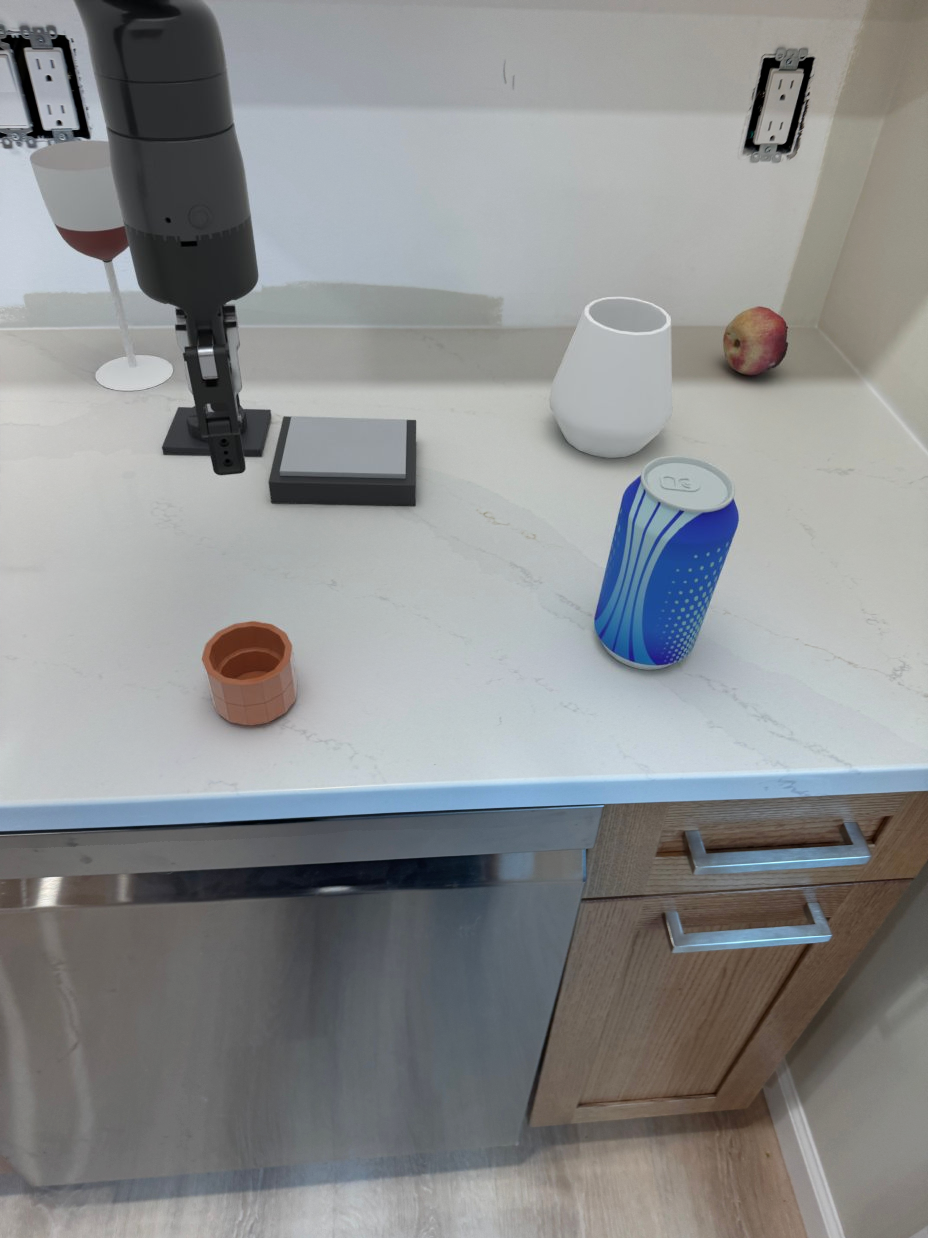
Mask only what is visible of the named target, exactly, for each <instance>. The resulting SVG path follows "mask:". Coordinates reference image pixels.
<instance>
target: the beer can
mask: <svg viewBox="0 0 928 1238" xmlns="http://www.w3.org/2000/svg"><path fill="white" fill-rule="evenodd" d="M735 486H736V485H735V484H734V482H733V480H732V478H731V477H730V475H728V474H727V473H726V471H724V470H723V469H721V468H720V467H718V466H716V465H715V464H713V463H711V462H709V461H706V460H703V459H699V458H697V457H693V456H686V455H667V456H661V457H657V458H655V459H653V460H651V461H649V462H648V463H646V464H645V466H644V467H643V468H642V470H641V473H640V475H639V476H638V477H637V478H636V479H634V480H633V481H632V482H631V483H630V484H629V485H628V486H627V488H625V490H624V492H623V494H622V497H621V502H620V506H619V510H618V515H617V519H616V523H615V527H614V532H613V536H612V541H611V544H610V549H609V554H608V557H607V561H606V566H605V571H604V575H603V579H602V583H601V588H600V593H599V595H598V601H597V605H596V609H595V613H594V619H593V626H594V627H593V628H594V631H595V634H596V636H597V637H598V639H599V641H600V643H602V646H603V647H604V649H605V650H606V652H607V653H608V654H609V655H610V656H611V657H613V658H614V659H615V660H617V661H618V662H620V663H622V664H623V665H626V666H628V667H632V668H634V669H639V670H647V671H648V670H649V671H653V670H654V671H655V670H660V669H661V670H662V669H665V668H667V667H669V666H672V665H673V664H676V663H679V662H680V661H682V660H684V659H685V658H687V657H688V656H689V655H690V654H691V652H692V651H693V649H694V648H695V644H696V642H697V639H698V637H699V634H700V631H701V628H702V626H703V623H704V621H705V618H706V615H707V611H708V609H709V606H710V603H711V601H712V598H713V595H714V592H715V590H716V588H717V584H718V581H719V578H720V577H721V574H722V571H723V568H724V565H725V562H726V560H727V557H728V554H729V551H730V549H731V546H732V543H733V540H734V537H735V534H736V532H737V529H738V526H739V522H740V516H739V515H740V514H739V509H738V506H737V504H736V501H735V494H736V488H735Z"/></svg>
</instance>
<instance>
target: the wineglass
mask: <svg viewBox="0 0 928 1238" xmlns="http://www.w3.org/2000/svg"><path fill="white" fill-rule="evenodd" d="M29 161H30V164H31V168H32V171H33V174H34V177H35V180H36V183H37V186H38V188H39V189H38V190H39V192H40V194H41V197H42V200H43V202H44V206H45V207H46V210H47V212H48V215H49V217H50V218H51V221H52V223H53V224H54V226H55V228H56V230H57V231H58V233H59V235H60V236H61V238H62V239H63V241H64V242H65V243H66V244H67V245H68V246H69V247H70V248H72V249H73V250H75V251H77V252H78V253H80V254H82V255H84V256H87V257H90V258H93V259H96V260H100V261H102V263H103V265H104V270H105V273H106V278H107V283H108V286H109V291H110V294H111V295H110V296H111V298H112V302H113V307H114V310H115V315H116V318H117V319H116V320H117V322H118V327H119V330H120V334H121V338H122V339H121V340H122V343H123V347H124V350H125V351H124V352H125V355H126V356H122V357H118V358H115V359H111V360H109V361H107V362H105V363H104V364H103V365H101V366H100V367H99V368H98V369H97V370H96V372H95V380H96V381H97V383H98V384H99V385H101V386H102V387H105V388H106V389H109V390H110V389H111V390H115V391H120V392H121V391H122V392H123V391H124V392H133V391H143V390H146V389H147V390H148V389H151V388H154V387H156V386H159V385H161V384H163V383H165V382H166V381H168V380H169V379H170V378H171V377H172V375H173V373H174V366H173V365H172V364H171V363H170V362H169V361H168V360H166V359H164V358H162V357H159V356H154V355H145V354H136V355H135V351H134V347H133V343H132V339H131V335H130V330H129V326H128V321H127V318H126V313H125V309H124V305H123V302H122V297H121V293H120V289H119V284H118V279H117V275H116V272H115V268H114V263H113V261H114V259H115V258H116V257H118V256H119V255H120V254H122V253H123V252H125V251H126V250H127V249H128V248H129V244H128V239H127V235H126V231H125V227H124V222H123V218H122V214H121V209H120V205H119V201H118V197H117V192H116V188H115V184H114V180H113V175H112V169H111V162H110V151H109V142H108V141H107V140H90V139H89V140H87V139H86V140H71V141H65V142H60V143H59V142H58V143H54V144H50V145H46V146H44V147H41V148H39V149H37V150H35V151H33V152H32V153H31V154H30V156H29Z"/></svg>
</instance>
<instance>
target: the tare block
mask: <svg viewBox="0 0 928 1238" xmlns="http://www.w3.org/2000/svg"><path fill="white" fill-rule="evenodd" d="M238 414H239V415H241V420H242V422H241V427H242V429H240V434H241V440H242V446H243V452H244V457H262V456H263V452H264V448H265V445H266V444H265V443H266V440H267V436H268V433H269V428H270V423H271V419H272V410H271V409H264V408H262V409H261V408H244V407H242V405H241V404H240V408H239V409H238ZM197 424H199V422H198V417H197V412H196V407H195V405H193V406H191V407H189V406H188V407H187V406H178V407H177V410H176V412H175V413H174V416H173V419H172V420H171V423H170V426H169V428H168V431H167V434H166V436H165V438H164V441H163V443H162V446H161V451H162V454H163V455H178V456H179V455H182V456H183V455H185V456H210V451H209V446H208V441H207V437H202V436H201V432H198V426H197Z"/></svg>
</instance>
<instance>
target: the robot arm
mask: <svg viewBox="0 0 928 1238" xmlns="http://www.w3.org/2000/svg"><path fill="white" fill-rule="evenodd" d="M73 3H74V5H75V7H76V9H77V12H78V15H79V17H80V20H81V23H82V25H83V29H84V32H85V36H86V40H87V47H88V53H89V57H90V62H91V67H92V72H93V76H94V80H95V84H96V88H97V94H98V97H99V98H98V99H99V103H100V106H101V111H102V115H103V119H104V123H105V130H106V135H107V140H108V142H109V151H110V162H111V169H112V175H113V180H114V184H115V188H116V192H117V197H118V201H119V205H120V209H121V214H122V218H123V222H124V227H125V231H126V235H127V239H128V244H129V247H128V248H129V252H130V256H131V260H132V265H133V269H134V273H135V277H136V281H137V285H138V287H139V289H140V290H141V292H142V293H143V294H144V295H145V296H146V297H148V298H149V299H151V300H153V301H155V302H158V303H159V304H164V305H169V306H173V307H174V308H175V311H174V312H175V318H176V323H174V329H175V338H176V343H177V347H178V348H179V350H180V351H181V353H182V356H183V357H182V359H183V363H184V370H185V377H186V382H187V388H188V391H189V392H190V393H191V394H192V397H193V402H194V406H195V407H196V412H197V417H198V422H199V424H197V426H198V432H201V436H202V437H207V441H208V446H209V451H210V455H209V456H210V461H211V465H212V470H213V472H214V474H215V475H217V476H230V475H241V474H243V473H244V472H245V471H246V469H247V467H246V459H245V456H244V452H243V446H242V440H241V434H240V429H242V427H241V422H242V420H241V415H239V414H238V409H239V408H240V405H241V403H240V395H239V393H241V392H242V390H243V381H242V375H241V368H240V361H239V354H238V351H239V349H240V347H241V340H240V332H239V321H238V313H237V307H236V303H229V302H231V301H238V300H240V299H242V298H244V297H245V296H247V295H249V293H251V292H252V291H253V290H254V288H256V286H257V284H258V282H259V277H260V276H259V266H258V260H257V253H256V245H255V235H254V228H253V221H252V213H251V207H250V206H251V205H250V198H249V191H248V190H249V189H248V183H247V177H246V169H245V163H244V159H243V155H242V150H241V147H240V143H239V139H238V135H237V131H236V125H235V122H234V120H235V118H234V110H233V101H232V94H231V87H230V80H229V73H228V68H227V66H228V65H227V58H226V52H225V47H224V42H223V37H222V33H221V29H220V25H219V22H218V20H217V17H216V15H215V13H214V11H213V10H212V9H211V7H210V6H209V4H207V3H206V2H205V1H204V0H73ZM207 404H210V406H211V409H212V410H213V411H214V412H208V408H207Z"/></svg>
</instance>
